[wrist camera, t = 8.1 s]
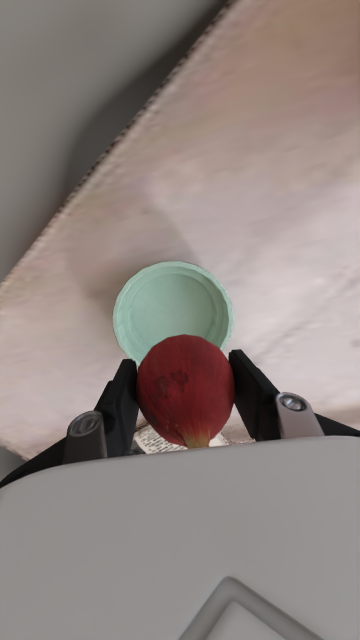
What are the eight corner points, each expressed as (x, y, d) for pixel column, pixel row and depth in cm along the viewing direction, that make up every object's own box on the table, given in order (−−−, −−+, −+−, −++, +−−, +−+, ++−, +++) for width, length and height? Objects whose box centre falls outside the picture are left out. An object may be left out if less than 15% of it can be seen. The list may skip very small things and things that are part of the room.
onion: (141, 381, 15) (112, 504, 7) (148, 315, 13) (120, 383, 6) (208, 387, 15) (249, 506, 8) (223, 324, 14) (291, 397, 6)
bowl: (114, 265, 25) (101, 265, 20) (222, 259, 25) (235, 257, 21) (129, 362, 29) (122, 380, 24) (221, 354, 30) (232, 371, 25)
